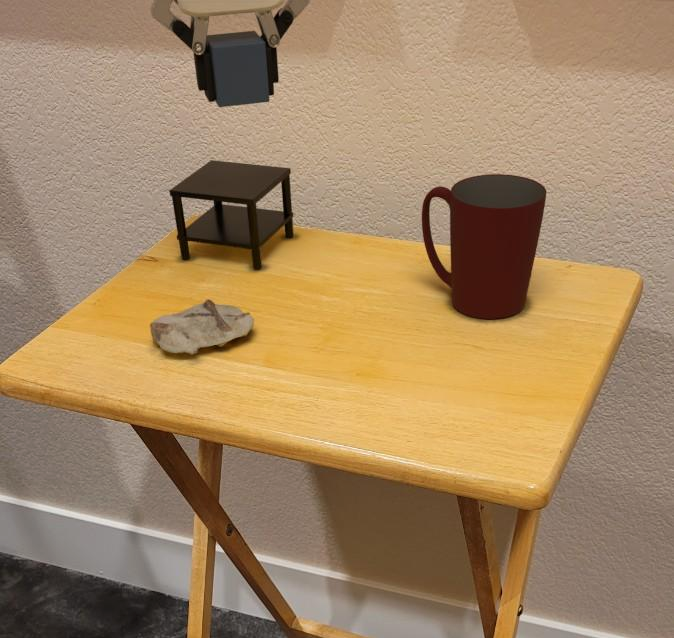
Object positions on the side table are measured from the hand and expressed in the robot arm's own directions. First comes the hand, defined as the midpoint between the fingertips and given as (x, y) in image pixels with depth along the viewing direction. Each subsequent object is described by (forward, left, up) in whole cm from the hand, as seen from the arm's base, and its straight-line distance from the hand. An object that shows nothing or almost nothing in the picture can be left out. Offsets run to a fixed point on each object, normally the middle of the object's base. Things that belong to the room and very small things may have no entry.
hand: (239, 92), depth 86 cm
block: (0, 0, 0) cm, 0 cm away
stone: (-8, -15, -18) cm, 24 cm away
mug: (+20, -16, -18) cm, 31 cm away
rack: (-1, +6, -17) cm, 18 cm away
